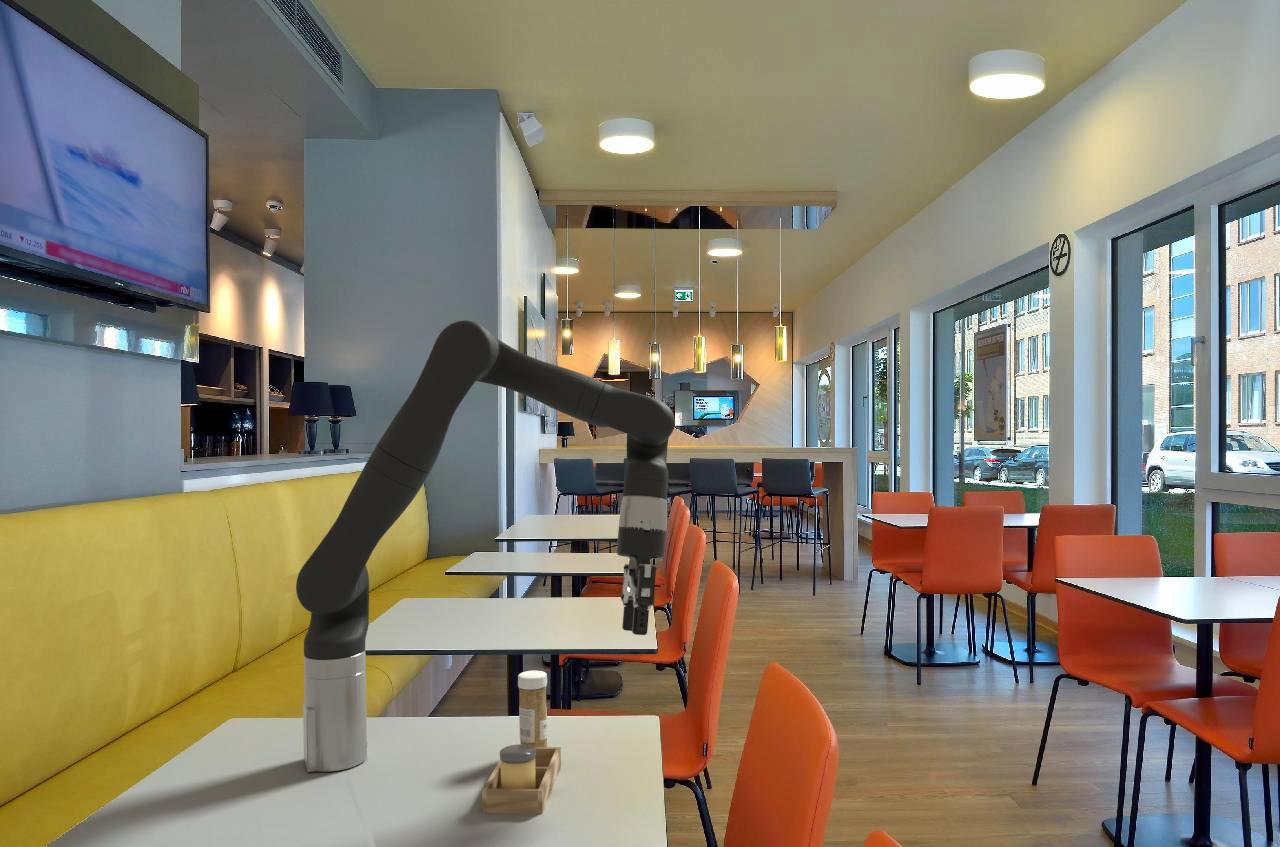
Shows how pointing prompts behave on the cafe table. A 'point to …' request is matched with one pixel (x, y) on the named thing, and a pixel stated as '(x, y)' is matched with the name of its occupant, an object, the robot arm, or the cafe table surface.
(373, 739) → the cafe table surface
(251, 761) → the cafe table surface
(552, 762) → the caddy
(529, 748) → the honey jar
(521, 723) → the sprinkles bottle
